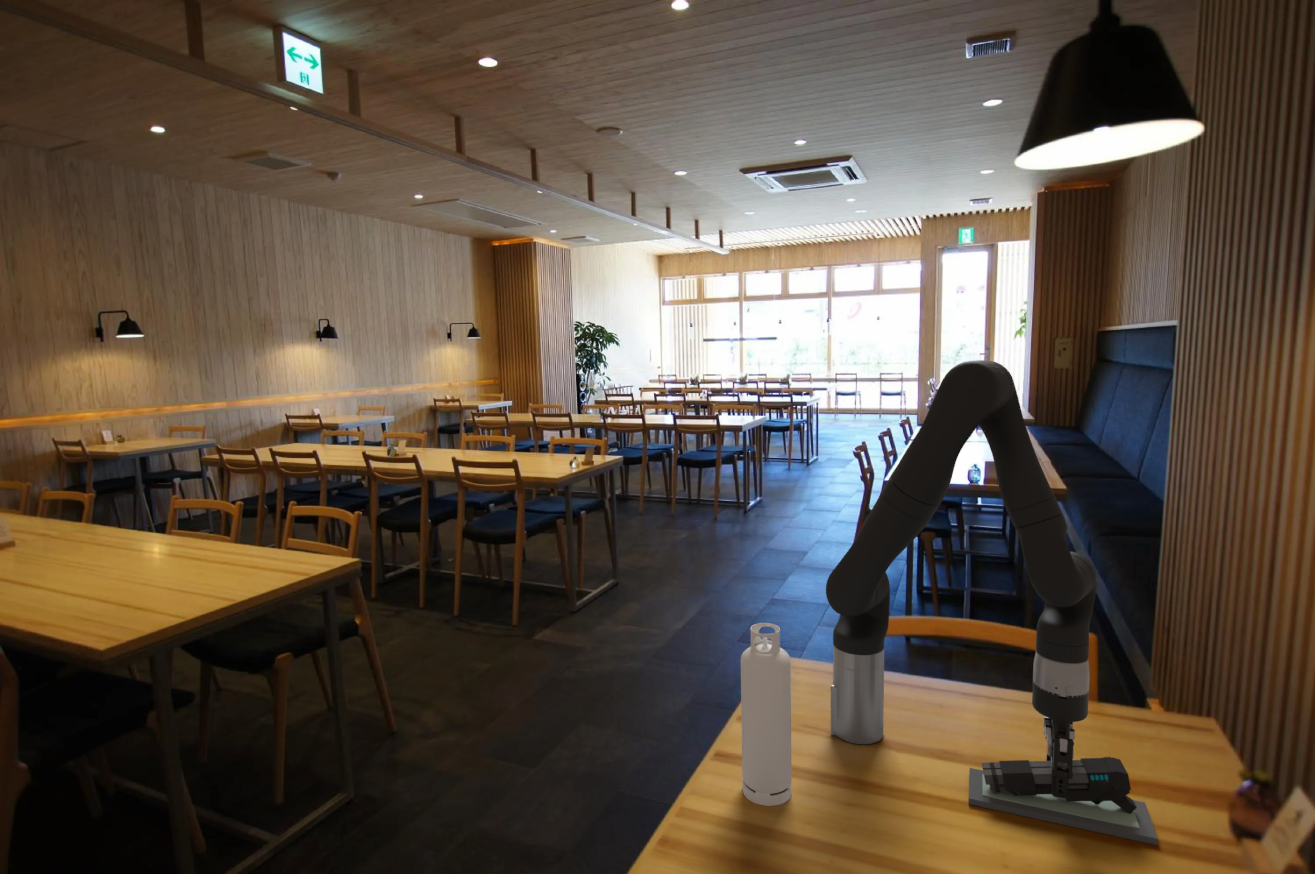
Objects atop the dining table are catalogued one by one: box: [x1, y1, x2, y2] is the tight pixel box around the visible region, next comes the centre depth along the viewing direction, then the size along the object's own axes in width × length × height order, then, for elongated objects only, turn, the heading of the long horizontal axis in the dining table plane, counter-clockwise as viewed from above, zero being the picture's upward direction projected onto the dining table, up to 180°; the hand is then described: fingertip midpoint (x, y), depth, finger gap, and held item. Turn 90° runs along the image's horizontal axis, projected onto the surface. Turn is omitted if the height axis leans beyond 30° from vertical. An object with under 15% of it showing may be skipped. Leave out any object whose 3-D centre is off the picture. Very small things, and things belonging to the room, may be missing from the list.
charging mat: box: [968, 767, 1159, 846], centre depth 111 cm, size 25×9×1 cm, turn 65°
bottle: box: [740, 622, 793, 807], centre depth 116 cm, size 8×8×28 cm
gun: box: [981, 756, 1137, 814], centre depth 111 cm, size 4×20×10 cm, turn 72°
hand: (1056, 780), depth 111 cm, fingers open, 8 cm apart
